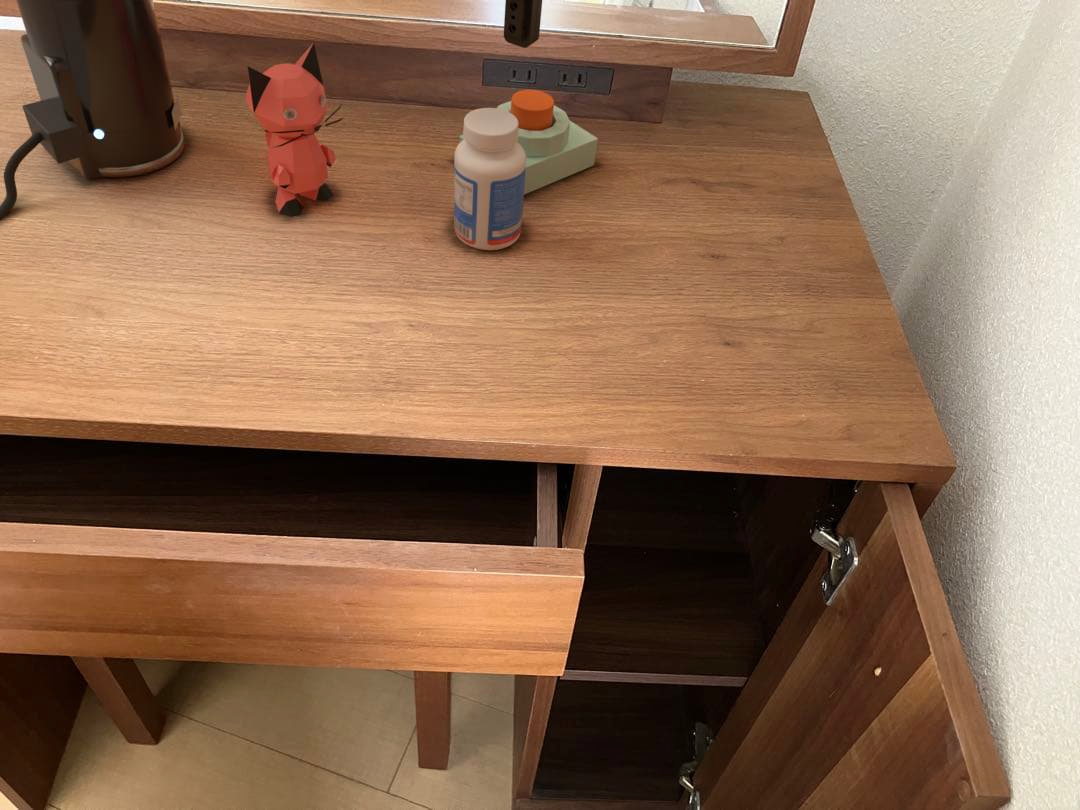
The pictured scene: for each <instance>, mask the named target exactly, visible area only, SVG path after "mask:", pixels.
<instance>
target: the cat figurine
mask: <svg viewBox="0 0 1080 810" xmlns="http://www.w3.org/2000/svg"><path fill="white" fill-rule="evenodd" d="M315 45H316V44H315V42H313V43H311V45H310V46H309V47H308V48H307V49H306V50H305V52H304V53H303V54H302V55H301V56H300V58H298V60H297V61H296V62H295V63H294V64H293V63H289V62H285V63H278V64H273V65H272V66H271V67H270V68H268V69H267V70H265V71H263V72H260V71H258V70H257V69H255V68H252V67H250V66H247V74H248V81H249V83H248V87H247V90H246V93H245V95H244V100H245V102H246V104H247V105H248V107H249V109H250V111H252V113H253V115H254V116H255V118H256V120H257V121H258V122H259V124H260V125H261V127H262V129H264V132H265V133H264V134H265V140H266V143H267V147H268V150H267V153H266V161H267V168H268V175H269V178H270V180H271V181H272V183H273V184H274V185H275V186H276V187H277V192H276V196H275V201H274V203H275V206H276V208H277V211H278V213H280V214H282V215H285V216H288V217H294V216H299V215H302V212H303V210H304V207H305V206H304V204H303V203H302V202H301V201H300V199H299V198H298V196H297V195H296V194H298V195H299V196H302V197H305V198H307V199H310V200H313V201H315V202H318V201H319V202H320V201H330V200H331V199H332V198H333V197H334V196H335V194H334V193H333V192H332V190H331V189H330V188H329V186H328V184H327V183H326V181H327V180H328V179H329V176H328V174H329V173H328V167H329V168H330V169H331V168H332V166H333V164H334V163H335V161H336V155H335V151H334V150H333V149H331V148H329V147H328V146H326V145H324V144H320V142H319V141H318V139H317V136H316V134H315V133H317V132H319V131H320V129H321V128H322V126H323V125H322V122H323V121H324V123H325V125H324V126H325V127H327V126H330V125H333V124H336V123H339V122H341V121H342V120H343V119H344V118H345V116H343V117H341V118H339V119H337V120H334V121H331V122H328V123H327V121H329V119H330V118H332V117H333V116H334V115H335V114H336V113H337V112H338V111H339V110H340V109H341V108H342V105H343V103H344V101H342V102H341V103H340V105H339V106H338V108H336V109H335V110H334V111H332V113H331V114H330V115H329V116H328V117H327V118H326V119H325V116H326V114H327V111H328V103H327V98H326V92H325V86H324V82H323V77H322V73H321V68H320V64H319V60H318V59H319V58H318V55H317V54H318V53H317V49H316V46H315ZM324 119H325V120H324Z"/></svg>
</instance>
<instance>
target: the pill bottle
mask: <svg viewBox="0 0 1080 810" xmlns="http://www.w3.org/2000/svg"><path fill="white" fill-rule="evenodd" d="M462 135H463V136H464V140H463V141H461V142H460V143H459V142H458V145H457V146H456V147H455V150H454V157H453V159H454V163H453V164H454V165H453V228H454V232H455V235H456V237H457V238H458V239H459V241H461V242H462V243H463V244H465V245H467V246H469V247H471V248H474V249H477V250H482V251H497V250H502V249H506V248H508V247H509V246H511V245H513V244H514V243H516V241H518V239H519V238H520V235H521V233H522V223H523V209H524V198H525V194H524V184H525V169H526V155H525V152H524V150H523V148H522V147H521V145H520V144H519V143H518V142H517V141H518V120H517V118H516V117H515V116H514V115H513V114H511V113H510V112H508V111H505V110H502V109H497V107H481V108H476V109H474V110H470V111H468V112H467V114H466V115H465V116H464V119H463V130H462Z"/></svg>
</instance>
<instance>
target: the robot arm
mask: <svg viewBox="0 0 1080 810" xmlns="http://www.w3.org/2000/svg"><path fill="white" fill-rule="evenodd" d="M15 1H16V4H17V7H18V10H19V14H20V16H21V19H22V22H23V26H24V30H25V32H26V33H25V34H22V35H21V36H20V42H21V45H22V48H23V51H24V54H25V57H26V60H27V63H28V66H29V68H30V72H31V75H32V78H33V81H34V84H35V87H36V90H37V93H38V97H39V99H40V100H39V101H34V102H30V103H26V104H23V105H22V110H23V112H24V116H25V119H26V121H27V124H28V127H29V130H30V133H31V135H30V137H28V139H26V140H25V142H23V143H22V144H21V145H20V146H19V147H18V148H17V149H16V150H15V151H14V152H13V154H11V156H10V158H9V159H8V160H7V163H6V165H5V168H4V171H3V181H4V187H5V193H6V194H5V198H4V200H3V201H2V202H1V204H0V221H2V219H4V218H5V217H6V216H8V214H10V212H11V211H12V209H13V208H14V206H15V204H16V202H17V199H18V189H17V185H16V178H15V177H16V172H17V170H18V168H19V166H20V164H21V163H22V161H23V160H24V159H25V158H26V157H27V156H28V155H29V154H30V153H31V152H32V151H33V150H34V149H35V148H37V146H39V144H40V145H41V146H42V147H43V148H44V149H45V150H46V152H47V153H48V154H49V155H50V156H51V157H52V158H53V159H54V160H55V162H56V163H58V164H62V163H66V162H68V163H69V164H70V165H71V166H72V167H73V168H75V169H76V170H77V172H78V173H79V174H81V176H82V177H83V178H84V179H85V180H93V179H97V178H100V177H109V178H122V177H123V178H124V177H133V176H138V175H140V176H141V175H144V174H148V173H151V172H154V171H157V170H159V169H162V168H164V167H166V166H169V164H171V163H173V162H174V161H175V160H177V158H179V156H181V154H182V152H183V151H184V148H185V144H186V143H185V142H186V141H185V136H184V132H183V128H182V127H181V122H180V119H181V116H182V111H181V105H180V101H179V98H178V96H176V100H175V96H174V92H173V88H172V87H173V86H172V83H171V77H170V74H169V68H168V65H167V64H168V63H167V60H166V55H165V50H164V46H163V41H162V37H161V32H160V28H159V23H158V19H157V15H156V14H157V13H156V9H155V5H154V0H15ZM542 7H543V0H505V4H504V18H503V19H504V20H503V21H504V23H503V38H504V41H505V42H507V43H508V44H511V45H513V46H517V47H519V48H522V49H526V48H528V47H530V46H531V45H533V44H535V43H536V42H538V41H539V39H540V31H541V21H542V9H543V8H542Z"/></svg>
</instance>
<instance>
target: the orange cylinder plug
mask: <svg viewBox="0 0 1080 810" xmlns="http://www.w3.org/2000/svg"><path fill="white" fill-rule="evenodd" d="M510 99H511V100H510V101H511V114H513V115H514V116H515V117H516V118H517V120H518V128H520V129H524V130H528V131H543V130H545V129H548V128H550V127H551V125H552V118H553V109H554V105H555V100H554V98H553V97H552V96H551V95H550V94H548V93H547V92H545V91H542V90H536V89H522V90H519V91H517V92H514V93H513V94H512V96H511V98H510Z"/></svg>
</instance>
